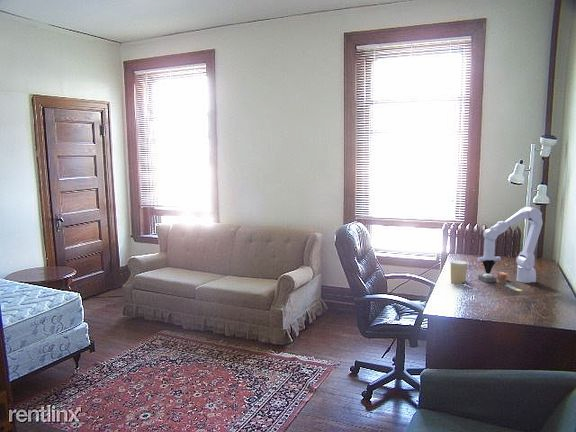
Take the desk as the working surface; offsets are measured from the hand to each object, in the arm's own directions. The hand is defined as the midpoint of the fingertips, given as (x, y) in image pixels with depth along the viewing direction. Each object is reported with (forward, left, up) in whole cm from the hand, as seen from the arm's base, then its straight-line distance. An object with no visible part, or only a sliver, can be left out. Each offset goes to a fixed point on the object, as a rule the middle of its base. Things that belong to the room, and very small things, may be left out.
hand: (487, 273), depth 257 cm
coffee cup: (+16, -5, -6) cm, 18 cm away
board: (-3, +9, -6) cm, 11 cm away
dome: (0, 0, -4) cm, 4 cm away
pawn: (-4, +7, -4) cm, 10 cm away
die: (-10, 0, -5) cm, 11 cm away
